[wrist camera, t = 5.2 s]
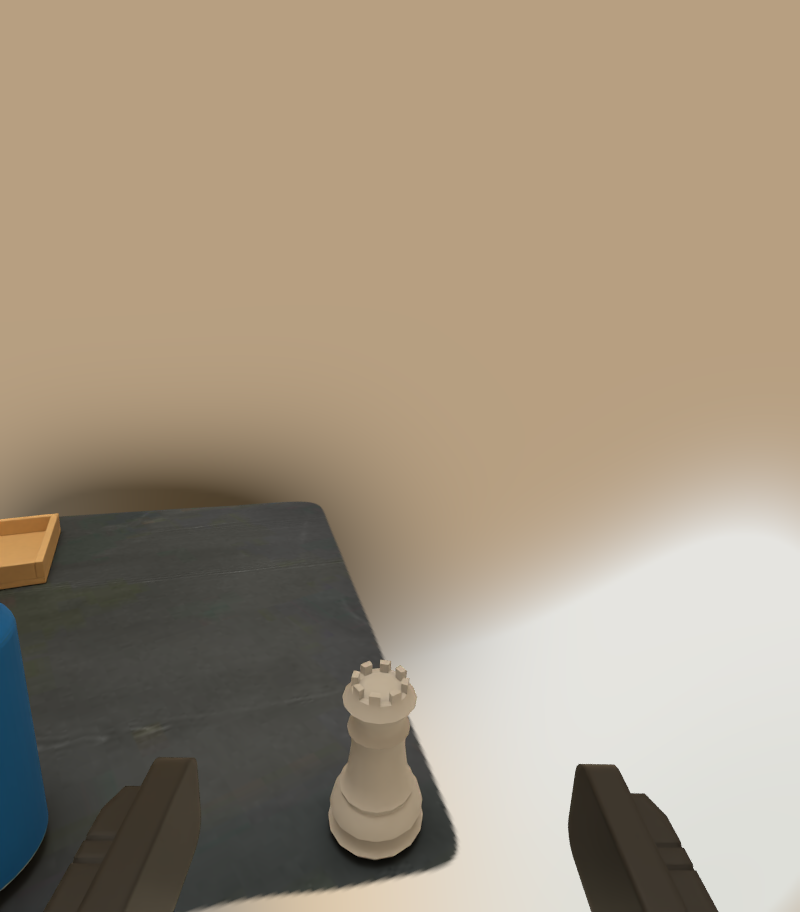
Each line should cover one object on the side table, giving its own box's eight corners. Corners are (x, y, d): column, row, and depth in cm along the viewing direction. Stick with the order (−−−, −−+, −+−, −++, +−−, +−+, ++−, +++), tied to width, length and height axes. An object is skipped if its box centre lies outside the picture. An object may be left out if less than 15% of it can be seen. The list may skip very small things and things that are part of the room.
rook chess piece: (316, 798, 27) (316, 659, 25) (398, 770, 29) (405, 638, 27) (346, 883, 23) (349, 727, 21) (439, 844, 25) (450, 697, 23)
